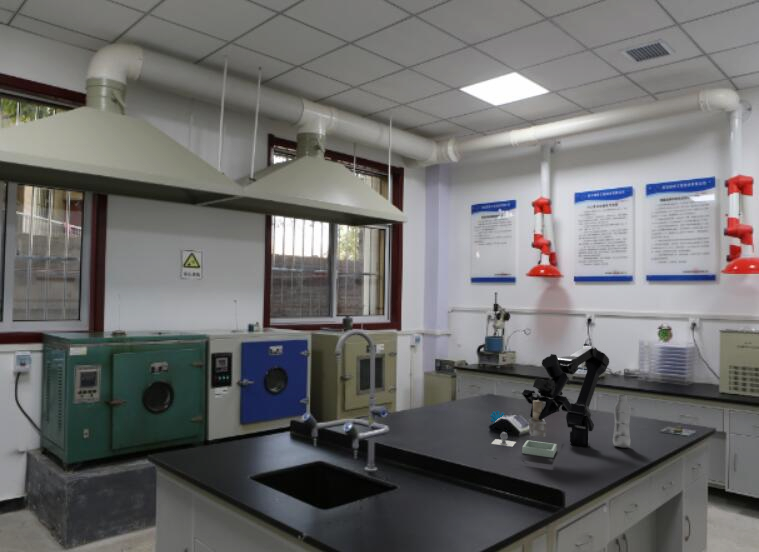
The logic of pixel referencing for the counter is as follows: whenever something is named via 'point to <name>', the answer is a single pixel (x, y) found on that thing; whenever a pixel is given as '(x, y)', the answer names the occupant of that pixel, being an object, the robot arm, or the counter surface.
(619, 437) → the plastic bottle
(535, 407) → the stamp
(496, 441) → the stud plate
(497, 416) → the blue lobed toy
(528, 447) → the tray
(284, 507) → the counter surface
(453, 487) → the counter surface
